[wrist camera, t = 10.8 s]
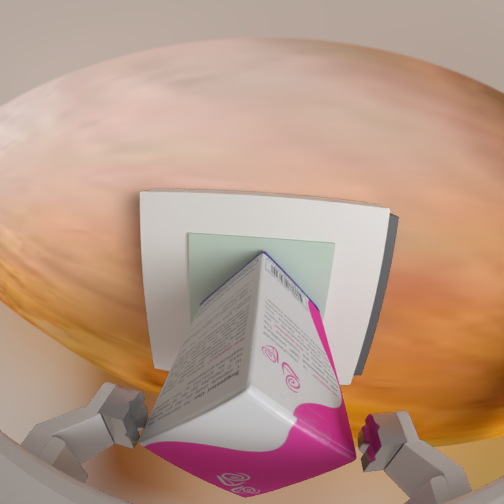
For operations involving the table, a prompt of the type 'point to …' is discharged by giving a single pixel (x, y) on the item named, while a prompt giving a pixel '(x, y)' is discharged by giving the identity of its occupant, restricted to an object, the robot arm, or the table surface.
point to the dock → (278, 248)
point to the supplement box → (253, 389)
